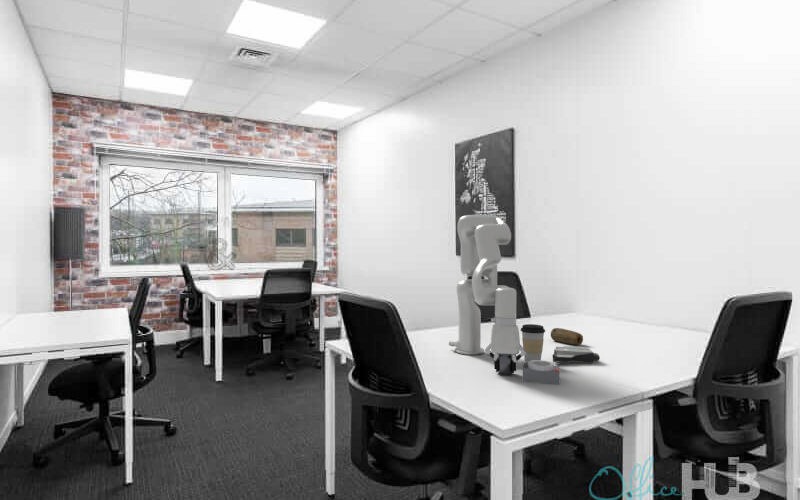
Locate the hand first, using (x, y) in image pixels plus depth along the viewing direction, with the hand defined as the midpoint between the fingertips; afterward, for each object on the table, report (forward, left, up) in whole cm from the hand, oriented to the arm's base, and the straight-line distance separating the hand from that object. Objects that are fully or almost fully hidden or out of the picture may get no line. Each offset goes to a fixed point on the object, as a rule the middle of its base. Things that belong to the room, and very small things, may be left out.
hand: (505, 371), depth 172 cm
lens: (0, 0, -1) cm, 1 cm away
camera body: (+12, -3, -1) cm, 13 cm away
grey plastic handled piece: (+25, +30, -1) cm, 39 cm away
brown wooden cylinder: (+23, +64, -1) cm, 68 cm away
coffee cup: (+9, +18, -1) cm, 20 cm away
